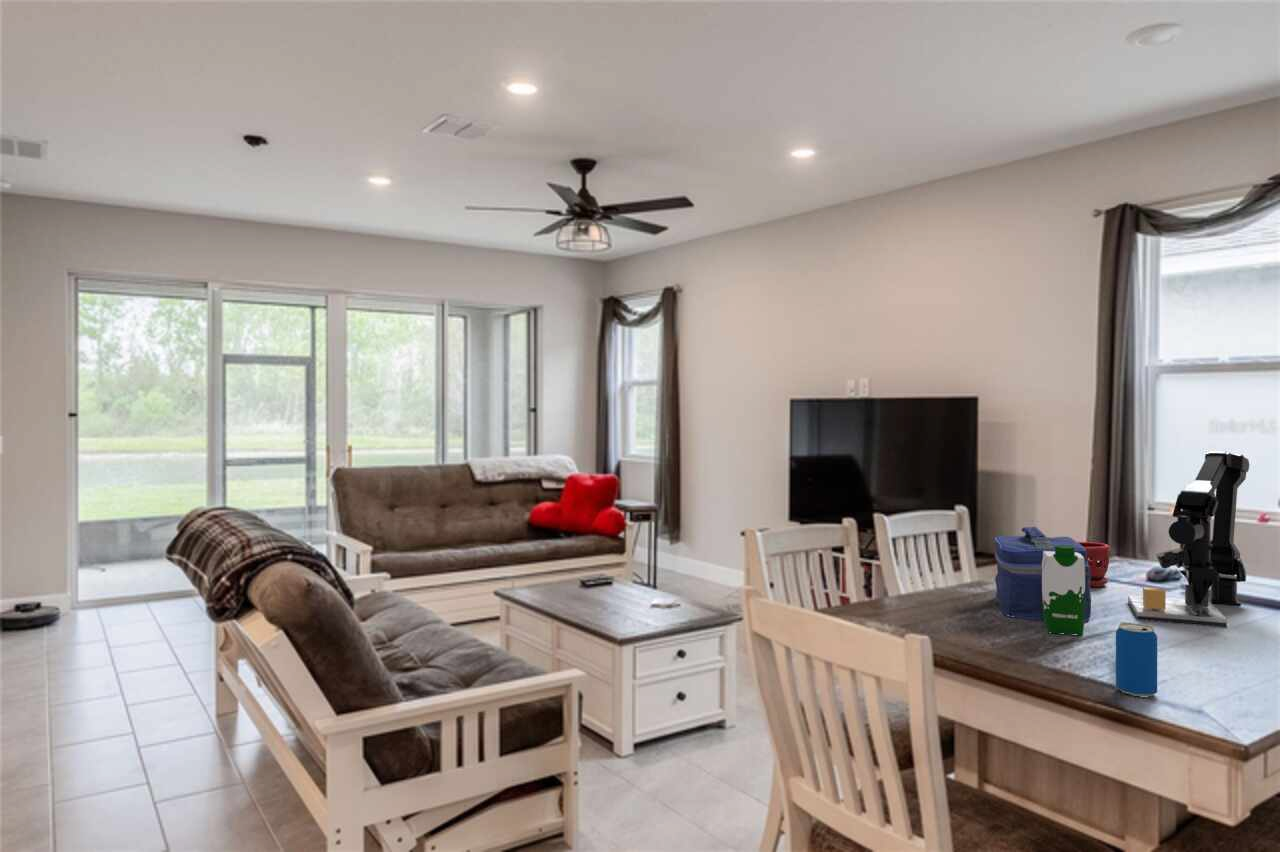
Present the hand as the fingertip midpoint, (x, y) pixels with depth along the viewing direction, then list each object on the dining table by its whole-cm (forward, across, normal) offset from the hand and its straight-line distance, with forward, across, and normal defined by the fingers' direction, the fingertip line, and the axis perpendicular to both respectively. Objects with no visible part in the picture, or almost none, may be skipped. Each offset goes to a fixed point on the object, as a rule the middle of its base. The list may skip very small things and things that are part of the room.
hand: (1196, 602), depth 206 cm
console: (+3, +2, -5) cm, 6 cm away
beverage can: (+3, +72, -21) cm, 75 cm away
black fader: (+2, 0, 0) cm, 2 cm away
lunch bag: (+3, +8, -36) cm, 37 cm away
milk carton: (+3, +30, -31) cm, 43 cm away
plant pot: (+3, -30, -23) cm, 38 cm away
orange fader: (+2, +7, -10) cm, 12 cm away
